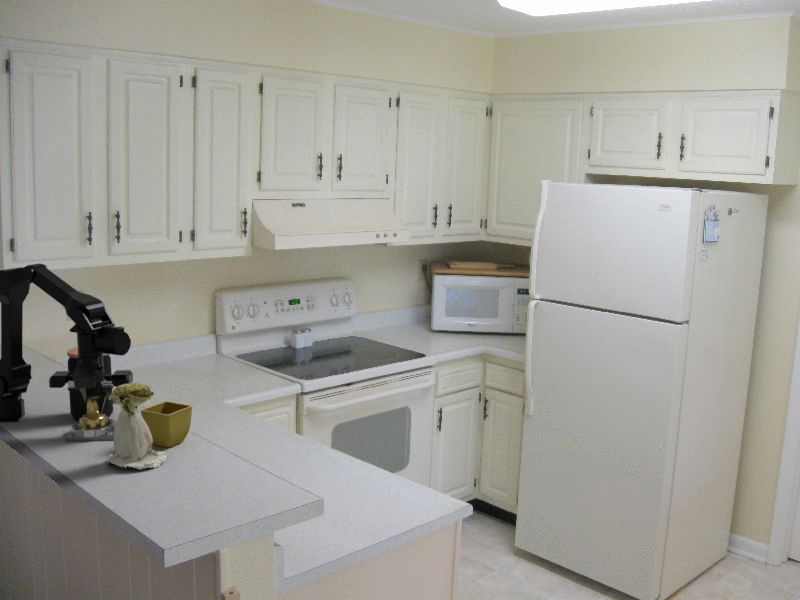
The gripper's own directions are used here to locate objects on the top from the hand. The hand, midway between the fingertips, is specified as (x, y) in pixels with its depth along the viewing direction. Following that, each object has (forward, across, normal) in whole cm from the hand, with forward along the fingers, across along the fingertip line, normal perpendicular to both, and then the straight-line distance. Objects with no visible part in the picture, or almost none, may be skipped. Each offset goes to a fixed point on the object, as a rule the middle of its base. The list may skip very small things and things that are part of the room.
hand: (93, 412), depth 211 cm
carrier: (+6, +4, 0) cm, 7 cm away
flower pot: (+6, +19, -8) cm, 22 cm away
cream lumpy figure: (+6, +14, -20) cm, 25 cm away
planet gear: (+3, 0, 0) cm, 3 cm away
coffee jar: (+6, -4, +14) cm, 16 cm away
